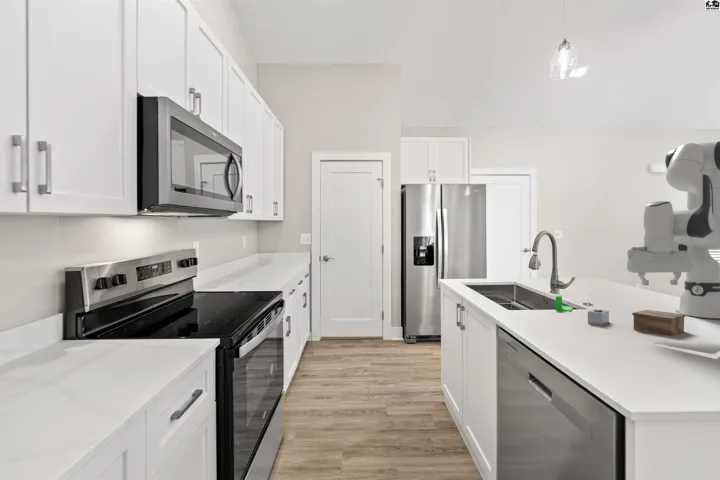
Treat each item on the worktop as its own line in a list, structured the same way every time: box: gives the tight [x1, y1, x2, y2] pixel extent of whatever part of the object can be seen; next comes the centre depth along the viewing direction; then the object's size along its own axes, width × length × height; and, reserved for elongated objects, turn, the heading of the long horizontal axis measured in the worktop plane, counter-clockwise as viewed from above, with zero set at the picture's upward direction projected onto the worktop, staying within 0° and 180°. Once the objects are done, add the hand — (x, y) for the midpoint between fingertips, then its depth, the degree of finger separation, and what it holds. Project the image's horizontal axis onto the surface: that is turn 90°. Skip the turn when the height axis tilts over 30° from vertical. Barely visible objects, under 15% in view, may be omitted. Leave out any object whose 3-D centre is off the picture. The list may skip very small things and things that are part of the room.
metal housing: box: [587, 308, 610, 326], centre depth 157 cm, size 8×5×5 cm, turn 133°
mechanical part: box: [555, 294, 574, 313], centre depth 183 cm, size 12×6×8 cm, turn 148°
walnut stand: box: [631, 309, 686, 337], centre depth 146 cm, size 12×12×6 cm
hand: (659, 285), depth 146 cm, fingers open, 8 cm apart
